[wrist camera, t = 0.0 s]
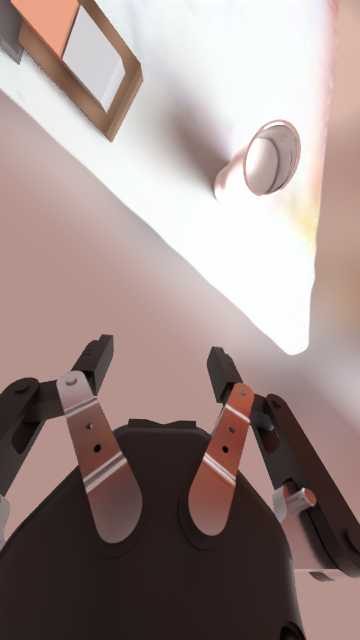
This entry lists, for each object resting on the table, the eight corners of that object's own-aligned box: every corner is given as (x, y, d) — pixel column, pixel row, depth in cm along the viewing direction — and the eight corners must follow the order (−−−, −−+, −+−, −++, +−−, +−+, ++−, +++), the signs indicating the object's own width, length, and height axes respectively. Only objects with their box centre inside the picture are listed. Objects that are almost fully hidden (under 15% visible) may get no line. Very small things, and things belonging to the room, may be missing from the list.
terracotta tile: (86, 23, 20) (76, -1, 18) (68, 71, 22) (58, 55, 20) (43, -33, 18) (26, -67, 16) (27, 25, 20) (10, 1, 18)
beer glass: (206, 203, 33) (232, 191, 20) (217, 156, 29) (257, 105, 16) (239, 211, 34) (283, 205, 21) (253, 168, 30) (315, 128, 18)
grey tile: (125, 73, 22) (120, 56, 20) (106, 113, 24) (100, 102, 22) (90, 27, 20) (80, 4, 18) (72, 75, 22) (62, 59, 20)
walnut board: (143, 80, 24) (140, 63, 22) (111, 142, 28) (106, 134, 25) (61, -29, 20) (45, -67, 17) (34, 60, 23) (17, 40, 20)
